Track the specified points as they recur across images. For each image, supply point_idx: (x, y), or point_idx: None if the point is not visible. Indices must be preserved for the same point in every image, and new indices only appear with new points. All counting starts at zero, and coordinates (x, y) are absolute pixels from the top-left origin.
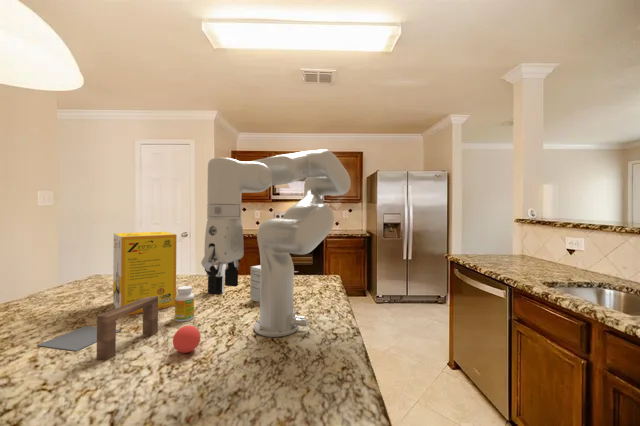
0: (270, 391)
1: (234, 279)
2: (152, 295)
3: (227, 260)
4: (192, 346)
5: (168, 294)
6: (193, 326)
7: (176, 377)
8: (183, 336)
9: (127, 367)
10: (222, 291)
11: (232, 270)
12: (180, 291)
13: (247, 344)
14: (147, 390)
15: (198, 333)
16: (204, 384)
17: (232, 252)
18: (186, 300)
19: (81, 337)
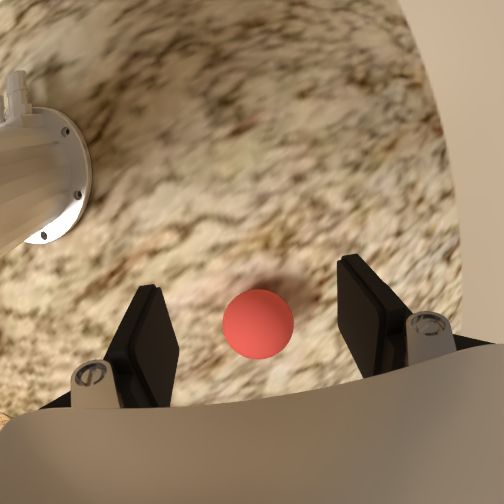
0: (331, 17)
1: (153, 320)
2: None
3: (484, 363)
4: (269, 291)
5: None
6: (241, 337)
7: (356, 241)
8: (287, 323)
9: (346, 351)
10: (2, 416)
11: (142, 380)
12: None
13: (153, 186)
14: (401, 257)
15: (246, 308)
16: (361, 165)
17: (403, 496)
18: None
19: None
